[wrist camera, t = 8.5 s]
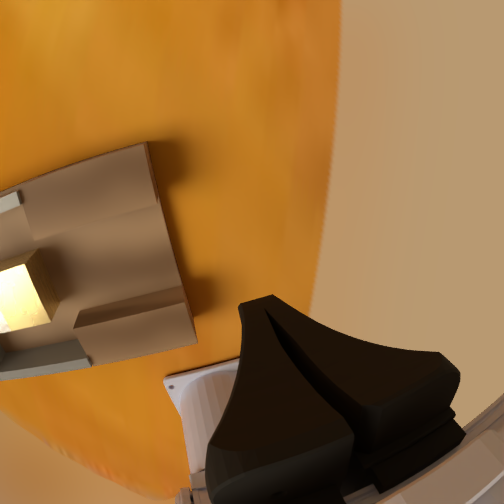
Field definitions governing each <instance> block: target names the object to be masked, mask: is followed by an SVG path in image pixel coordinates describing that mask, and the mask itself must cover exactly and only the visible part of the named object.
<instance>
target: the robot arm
mask: <svg viewBox="0 0 504 504" xmlns="http://www.w3.org/2000/svg"><path fill="white" fill-rule="evenodd" d="M238 310H239V314H240V319H241V323H242V342H241V351H240V358H238V359H235V360H231V361H227V362H224V363H220V364H216V365H212V366H208V367H205V368H201V369H197V370H192V371H188V372H184V373H180V374H176V375H171V376H167V377H165V378H164V380H163V382H164V385H165V387H166V389H167V391H168V393H169V395H170V397H171V399H172V401H173V403H174V405H175V407H176V408H177V410H178V412H179V414H180V416H181V418H182V424H183V431H184V437H185V444H186V450H187V456H188V461H189V467H190V472H191V474H190V475H189V478H190V483H191V488H192V491H190V488H189V487H187V488H181V489H180V492H179V493H178V494H177V495H176V497H175V504H504V394H503V395H502V396H500V397H499V398H498V399H497V400H496V401H495V402H494V403H493V404H491V405H490V406H489V407H488V408H487V409H486V410H484V411H483V412H482V413H481V414H479V415H478V416H477V417H476V418H475V419H473V420H472V421H471V422H470V423H468V424H467V425H466V426H464V427H463V428H461V427H460V426H459V425H458V423H456V421H455V420H454V419H453V418H454V417H455V415H456V414H455V412H454V411H453V410H452V409H451V407H450V404H451V402H452V400H453V398H454V396H455V393H456V391H457V389H458V386H459V383H460V372H459V370H458V369H457V368H456V367H455V366H454V365H453V364H452V363H451V362H450V361H449V360H448V359H447V358H446V357H444V356H443V355H442V354H441V353H440V352H429V351H414V350H405V349H399V348H392V347H387V346H382V345H378V344H374V343H370V342H367V341H363V340H360V339H357V338H353V337H351V336H348V335H345V334H343V333H340V332H338V331H335V330H333V329H331V328H328V327H326V326H324V325H322V324H320V323H318V322H316V321H314V320H313V319H311V318H309V317H308V316H306V315H304V314H302V313H301V312H299V311H297V310H296V309H294V308H293V307H291V306H290V305H288V304H287V303H285V302H283V301H282V300H281V299H279V298H277V297H276V296H274V295H273V294H272V295H269V296H265V297H262V298H258V299H255V300H251V301H248V302H244V303H240V305H239V306H238ZM170 385H173V386H170Z"/></svg>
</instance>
